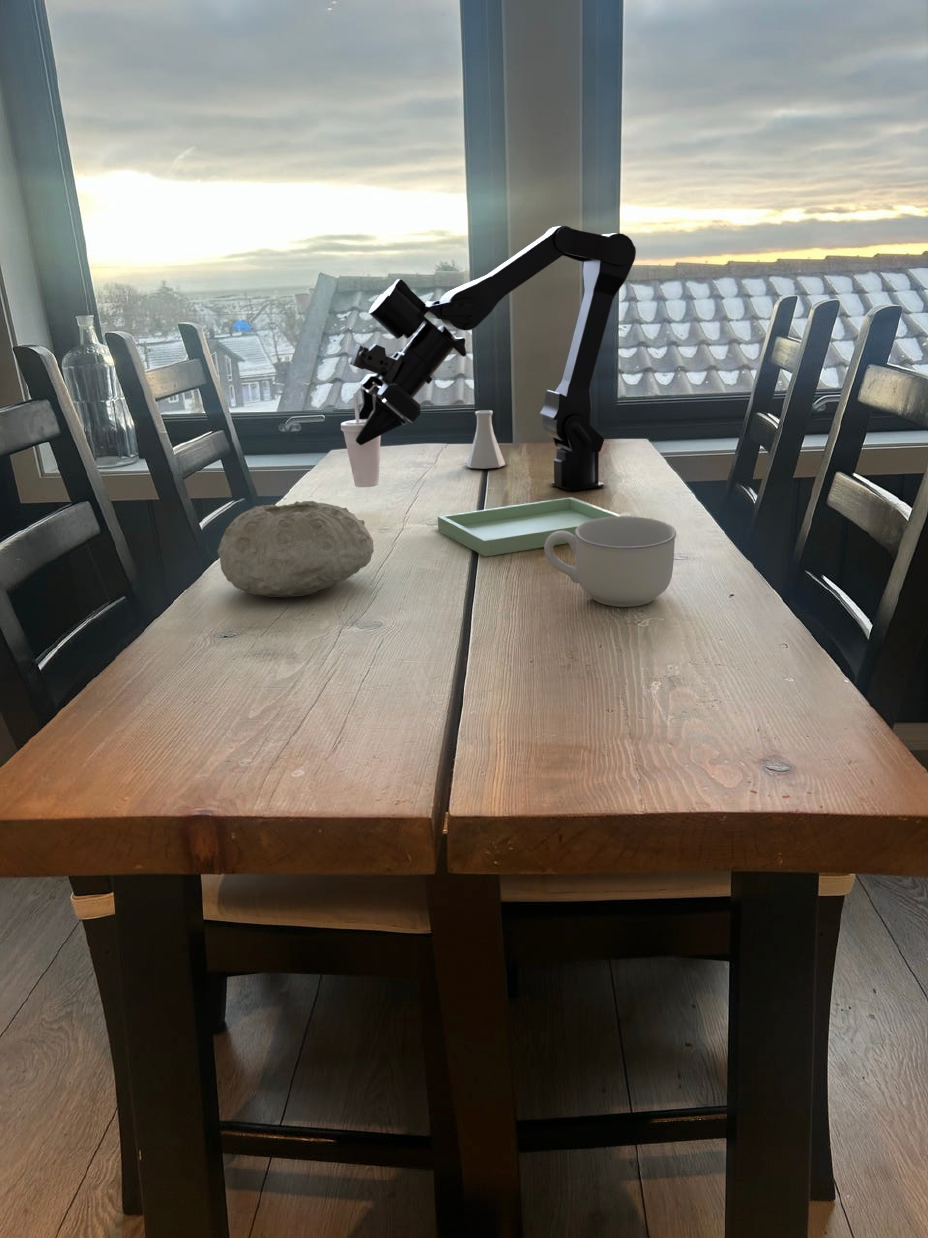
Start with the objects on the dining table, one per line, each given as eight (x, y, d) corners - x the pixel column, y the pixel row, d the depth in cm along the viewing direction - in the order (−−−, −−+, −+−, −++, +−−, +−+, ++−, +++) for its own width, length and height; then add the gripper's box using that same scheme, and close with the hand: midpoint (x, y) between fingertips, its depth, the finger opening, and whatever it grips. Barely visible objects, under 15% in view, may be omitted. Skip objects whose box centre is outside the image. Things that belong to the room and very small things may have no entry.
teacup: (680, 587, 113) (682, 517, 110) (666, 618, 103) (668, 543, 100) (560, 579, 117) (559, 512, 114) (535, 609, 107) (534, 537, 105)
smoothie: (343, 483, 157) (334, 392, 152) (382, 478, 159) (375, 389, 154) (350, 491, 151) (341, 397, 147) (391, 486, 153) (384, 393, 148)
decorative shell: (259, 564, 128) (251, 487, 125) (393, 567, 125) (388, 488, 121) (197, 610, 112) (185, 522, 109) (348, 614, 108) (341, 524, 105)
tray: (571, 510, 149) (571, 496, 148) (629, 533, 135) (629, 518, 135) (438, 530, 141) (437, 516, 140) (484, 556, 127) (484, 540, 127)
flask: (506, 461, 187) (505, 407, 184) (504, 469, 181) (502, 413, 177) (468, 462, 188) (466, 409, 185) (464, 470, 182) (462, 414, 178)
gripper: (368, 320, 156) (305, 398, 158) (392, 326, 139) (321, 413, 141) (420, 368, 161) (358, 443, 162) (450, 379, 144) (381, 463, 145)
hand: (354, 439), depth 152 cm, fingers closed on smoothie, 6 cm apart
